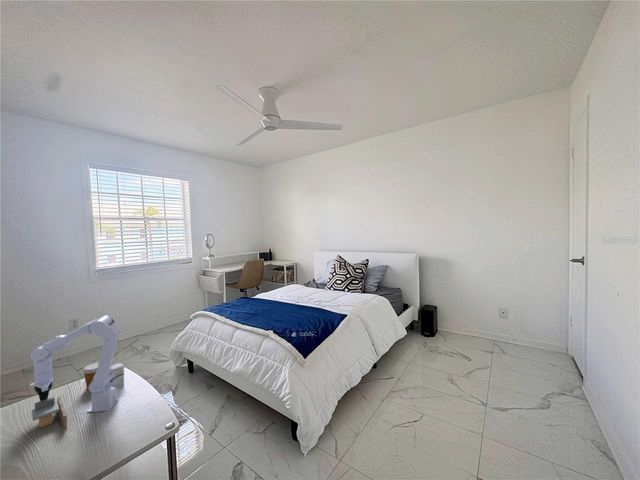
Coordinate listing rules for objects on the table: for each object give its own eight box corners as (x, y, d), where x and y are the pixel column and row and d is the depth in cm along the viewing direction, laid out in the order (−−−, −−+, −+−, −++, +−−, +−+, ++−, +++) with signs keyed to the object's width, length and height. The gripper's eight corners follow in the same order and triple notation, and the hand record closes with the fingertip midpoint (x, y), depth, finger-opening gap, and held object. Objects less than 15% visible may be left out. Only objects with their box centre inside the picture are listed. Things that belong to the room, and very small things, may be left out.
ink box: (105, 393, 138) (104, 371, 138) (102, 389, 141) (102, 368, 141) (124, 385, 145) (124, 364, 144) (121, 382, 148) (121, 361, 147)
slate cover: (31, 412, 116) (31, 403, 115) (56, 403, 122) (56, 394, 122) (32, 420, 111) (32, 411, 110) (59, 410, 117) (59, 402, 117)
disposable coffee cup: (109, 384, 146) (109, 363, 145) (88, 393, 137) (88, 371, 137) (99, 380, 150) (99, 359, 149) (79, 389, 141) (78, 367, 141)
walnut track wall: (57, 409, 125) (57, 397, 125) (60, 408, 126) (60, 396, 125) (63, 430, 112) (63, 416, 112) (66, 428, 113) (66, 415, 113)
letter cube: (38, 423, 116) (38, 414, 116) (51, 418, 119) (51, 409, 119) (39, 427, 114) (39, 418, 113) (52, 422, 117) (52, 413, 117)
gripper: (29, 369, 122) (29, 397, 122) (31, 381, 112) (32, 411, 113) (50, 363, 127) (51, 390, 127) (54, 374, 118) (55, 403, 118)
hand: (43, 399), depth 121 cm, fingers closed
